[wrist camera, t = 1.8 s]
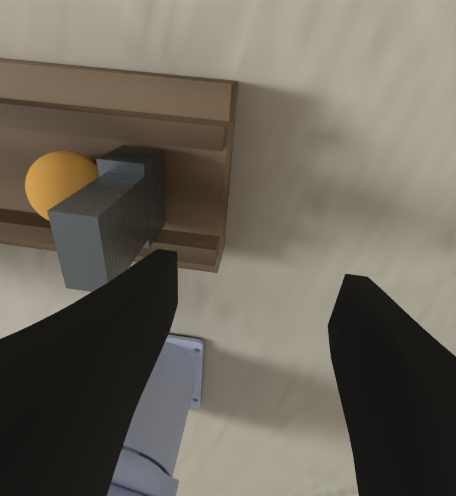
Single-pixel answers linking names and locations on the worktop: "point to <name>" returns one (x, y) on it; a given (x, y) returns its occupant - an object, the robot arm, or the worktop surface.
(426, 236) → the worktop surface
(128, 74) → the brown wooden moulding block
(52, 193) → the ball
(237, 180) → the worktop surface
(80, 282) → the gray l-shaped bracket
